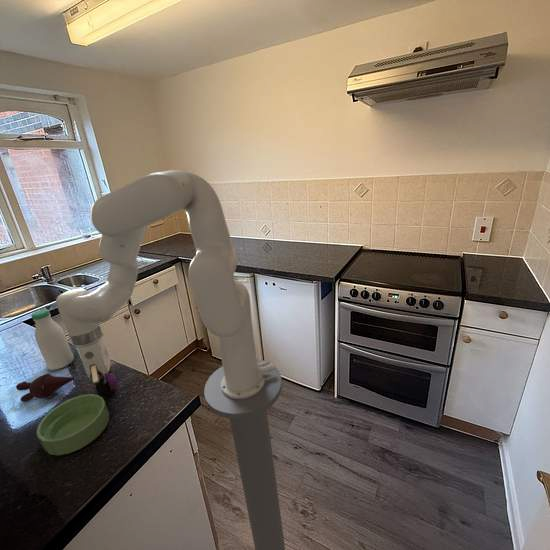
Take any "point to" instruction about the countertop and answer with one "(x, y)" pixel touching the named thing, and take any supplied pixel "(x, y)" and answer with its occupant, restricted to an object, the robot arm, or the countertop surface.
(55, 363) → the milk bottle
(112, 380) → the ball
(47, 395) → the brown gnome figurine
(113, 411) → the countertop surface
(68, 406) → the bowl
